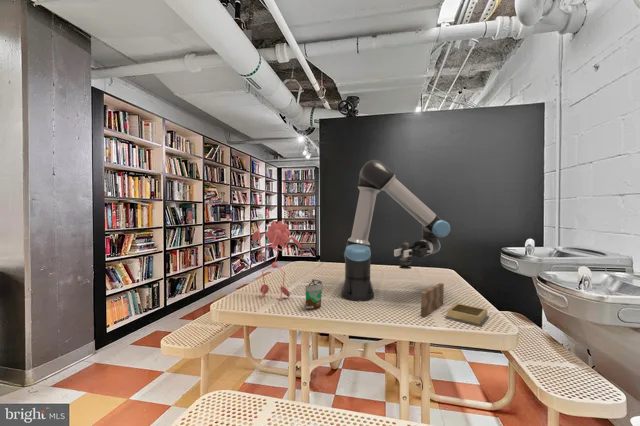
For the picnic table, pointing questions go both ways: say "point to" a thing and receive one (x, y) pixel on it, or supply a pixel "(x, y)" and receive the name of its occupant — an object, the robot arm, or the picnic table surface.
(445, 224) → the robot arm
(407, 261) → the salt shaker
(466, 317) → the yellow square tray
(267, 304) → the picnic table surface
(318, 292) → the food container
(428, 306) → the board
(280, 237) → the pink tall figurine
